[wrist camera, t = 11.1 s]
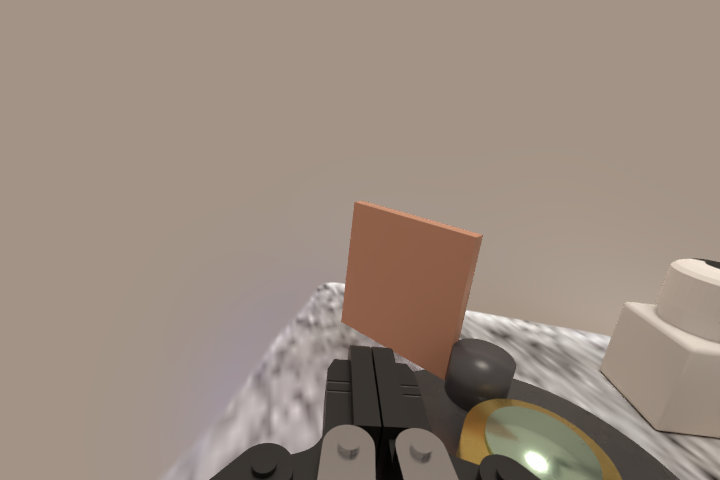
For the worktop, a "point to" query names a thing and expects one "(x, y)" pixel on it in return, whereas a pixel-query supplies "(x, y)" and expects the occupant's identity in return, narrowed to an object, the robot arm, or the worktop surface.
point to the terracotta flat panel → (421, 299)
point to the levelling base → (547, 400)
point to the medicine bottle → (672, 351)
